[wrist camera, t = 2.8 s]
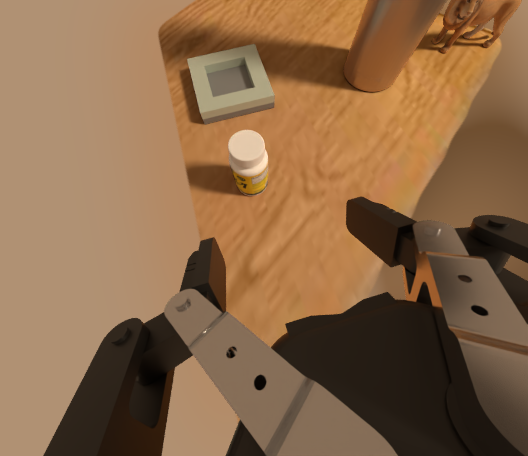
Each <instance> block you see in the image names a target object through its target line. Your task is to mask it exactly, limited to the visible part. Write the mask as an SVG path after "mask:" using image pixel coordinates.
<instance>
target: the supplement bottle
mask: <svg viewBox="0 0 528 456" xmlns="http://www.w3.org/2000/svg"><path fill="white" fill-rule="evenodd" d="M228 149H229V163H230V167H231V170H232V173H233V176H234V179H235V182H236V185H237V187H238V189H239V190H240V191H241V192H242V193H243V194H245V195H247V196H256V195H259V194H261V193H262V192H263V191H264V190H265V189H266V187H267V184H268V155H267V152H266V150H265V144H264V140H263V138H262V137H261V135H260V134H258V133H257V132H255V131H252V130H242V131H239V132H237V133H235V134H234V135H233V136H232V137H231V138H230V140H229V143H228Z"/></svg>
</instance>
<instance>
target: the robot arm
mask: <svg viewBox="0 0 528 456" xmlns="http://www.w3.org/2000/svg"><path fill="white" fill-rule="evenodd" d="M446 1H447V0H368V2H367V4H366V7H365V10H364V13H363V15H362V18H361V21H360V24H359V26H358V29H357V32H356V35H355V37H354V40H353V42H352V45H351V48H350V51H349V54H348V56H347V59H346V62H345V65H344V69H343V70H344V75H345V78H346V79H347V80H348V82H349V83H350V84H352V85H353V86H354V87H356V88H358V89H361V90H364V91H370V92H376V91H382V90H385V89H387V88H389V87H390V86H391V85H392V84H393V83H394V81H395V80H396V78H397V77H398V75H399V74H400V72H401V71H402V69H403V68H404V66H405V64H406V63H407V61H408V60H409V58H410V57H411V55H412V54H413V52H414V51H415V49H416V48H417V46H418V45H419V43H420V42H421V40H422V39H423V37H424V35H425V34H426V32H427V31H428V29H429V28H430V26H431V25H432V23H433V22H434V20H435V18H436V17H437V15H438V14H439V12H440V11H441V9H442V8H443V6H444V4H445V3H446ZM346 225H347V229H348V230H349V232H350V233H351V234H352V235H353V236H355V237H356V238H357V239H358V240H359V241H360V242H362V243H363V244H364V245H365V246H366V247H367V248H369V249H370V250H371V251H372V252H373V253H374V254H376V255H377V256H378V257H379V258H380V259H381V260H383V261H384V262H385V263H386V264H388V265H389V266H390V267H394V266H397V265H400V264H402V265H403V271H402V272H403V280H404V286H405V295H406V300H395V299H394V298H393V297H392V296H391V295H390V294H389V293H388V292H386V293H383V294H380V295H377V296H373V297H370V298H367V299H363V300H362V301H360V302H359V303H357V304H356V305H354V306H353V307H351V308H350V309H348V310H347V311H345V312H344V313H342V314H334V315H317V316H309V317H306V318H303V319H299V320H296V321H293V322H290V323H286V324H285V325H286V328H287V333H286V334H284V335H283V336H282V337H280V338H279V339H278V340H277V341H276V342H275V343H274V344H273V346H272V347H271V348H270V347H269V346H268V345H267V344H265V343H264V342H263V341H262V340H261V339H260V338H258V337H257V336H256V335H255V334H254V333H252V332H251V331H250V330H249V329H248V328H246V327H245V326H244V325H243V324H242V323H241V322H239V321H238V320H237V319H236V318H235V317H233V316H232V315H231V314H230V313H228V312H227V311H226V266H225V262H224V258H223V256H222V254H221V251H220V249H219V246H218V244H217V242H216V239H215V238H214V237H213V238H209V239H206V240H202V241H201V242H200V246H199V251H195V252H193V253H192V255H191V256H190V257H189V259H188V263H187V267H186V270H185V273H184V277H183V281H182V285H181V289H180V292H179V293H178V294H176V295H175V296H173V297H172V298H171V299H170V301H169V302H168V303H167V305H166V307H165V310H164V312H163V313H162V314H160V315H159V316H157V317H155V318H153V319H151V320H149V321H148V322H146V323H143V322H142V321H141V320H140V319H138V318H131V319H128V320H126V321H124V322H122V323H120V324H119V325H117V326H116V327H115V328H113V329H112V330H111V331H110V332H109V333H108V334H107V336H106V337H105V338H104V339H103V341H102V343H101V345H100V346H99V348H98V350H97V352H96V354H95V356H94V358H93V360H92V362H91V364H90V366H89V368H88V370H87V372H86V374H85V376H84V378H83V380H82V382H81V383H80V385H79V387H78V389H77V391H76V393H75V395H74V397H73V399H72V401H71V403H70V405H69V407H68V409H67V411H66V413H65V415H64V417H63V419H62V421H61V422H60V425H59V426H58V428H57V430H56V432H55V434H54V436H53V438H52V440H51V442H50V444H49V446H48V448H47V450H46V452H45V454H44V456H161V455H162V448H163V442H164V435H165V429H166V422H167V416H168V409H169V403H170V396H171V390H172V383H173V376H174V370H175V367H176V366H178V365H179V364H180V363H182V362H184V361H185V360H187V359H188V358H190V357H191V356H193V355H194V357H195V358H196V359H197V360H198V362H199V363H200V365H201V366H202V368H203V369H204V370H205V372H206V373H207V375H208V376H209V377H210V379H211V380H212V381H213V382H214V384H215V385H216V387H217V388H218V389H219V391H220V392H221V394H222V395H223V396H224V398H225V399H226V400H227V402H228V403H229V405H230V406H231V407H232V409H233V410H234V411H235V413H236V414H237V416H238V417H239V418H240V421H239V423H238V426H237V428H236V431H235V434H234V436H233V439H232V441H231V444H230V446H229V449H228V451H227V454H226V456H528V325H527V324H528V281H527V280H524V279H523V278H521V277H519V276H517V275H516V274H514V273H512V272H510V271H508V270H506V269H505V268H503V267H504V266H505V264H506V262H507V261H508V259H509V258H510V256H511V255H512V256H514V257H516V258H518V259H520V260H522V261H524V262H527V263H528V224H526V223H523V222H520V221H517V220H515V219H512V218H508V217H503V216H495V215H483V216H478V217H475V218H474V219H473V222H472V224H471V226H470V227H468V228H453V227H452V226H450V225H448V224H446V223H442V222H439V221H431V220H427V221H419V222H416V221H414V220H413V219H411V218H409V217H407V216H405V215H403V214H401V213H399V212H396V211H395V210H393V209H390V208H389V207H387V206H385V205H383V204H379V203H375V202H372V201H370V200H368V199H366V198H364V197H357V198H354V199H350V200H348V201H347V206H346Z"/></svg>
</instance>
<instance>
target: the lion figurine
mask: <svg viewBox="0 0 528 456" xmlns="http://www.w3.org/2000/svg"><path fill="white" fill-rule="evenodd" d="M521 2H522V0H451V1H450V3H449V6H448V7H447V10H446V12H445V15H444V18H443V25H444V27H443V29H442V31H441V32H440V35H439V36H438V37H435V38H434V39H433V40H432V43H433V44H437V43H439V42H440V41H441V39H442V38H443V37H444V36H445V34H446V33H447V31H448V30H455V32H454V34H453V35H452V37H451V38H450V39H449V41H448V42H447V43H446V44H445V45H444V46H443V47H442V48H441V49H440V52H442V53H446V52H447V51H448V50H449V49H450V47H451V46H452V44H453V43H454V41H455V40H456V39H457V38H458V37H459V36H460V35H461V34H462V33H463V32H464V30H465V29H466V28H467V27H468V26H474V25H478V24H479V25H478V26H477V27H476V28H475V29H474V30H472V31H471V32H466V33H464V34H463V37H464V38H470V37H471V36H473V35H474V34H476V33H477V32H479V31H480V30H482V29H483V28H484V26H485V25H486V24H487V23H488V21H490V20H491V19H492V18H494V25H493V32H492V33H491V34H492V35H494V36H493V37H492V38H491V39H490V40H487V41H485V42H484V44H483V46H484V47H486V48H488V47H490V46H491V45H492V44H493V43H494V41H495V40H496V39H497V38H498V37H499V36H500V35H501V33H502V32H503V30H504V26H505V24H506V22H507V21H508V20H509V19H510V18H511V16H512V15H513V14H514V12H515V11H516V10H517V8H518V7H519V5H520V4H521Z"/></svg>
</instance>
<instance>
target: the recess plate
mask: <svg viewBox="0 0 528 456" xmlns="http://www.w3.org/2000/svg"><path fill="white" fill-rule="evenodd" d="M187 61H188V65H189V69H190V73H191V77H192V81H193V85H194V89H195V93H196V98H197V102H198V106H199V110H200V114H201V116H202V119H203V121H204V123H205V124H209V123H213V122H217V121H221V120H225V119H229V118H233V117H237V116H241V115H246V114H250V113H254V112H258V111H262V110H266V109H270V108H274V96H275V95H274V93H273V90H272V87H271V85H270V82H269V80H268V77H267V74H266V72H265V69H264V67H263V64H262V61H261V59H260V56H259V54H258V51H257V48H256V46H255V44H251V45H247V46H242V47H238V48H234V49H229V50H225V51H220V52H216V53H211V54H207V55H202V56H198V57H193V58H189V59H187Z"/></svg>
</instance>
